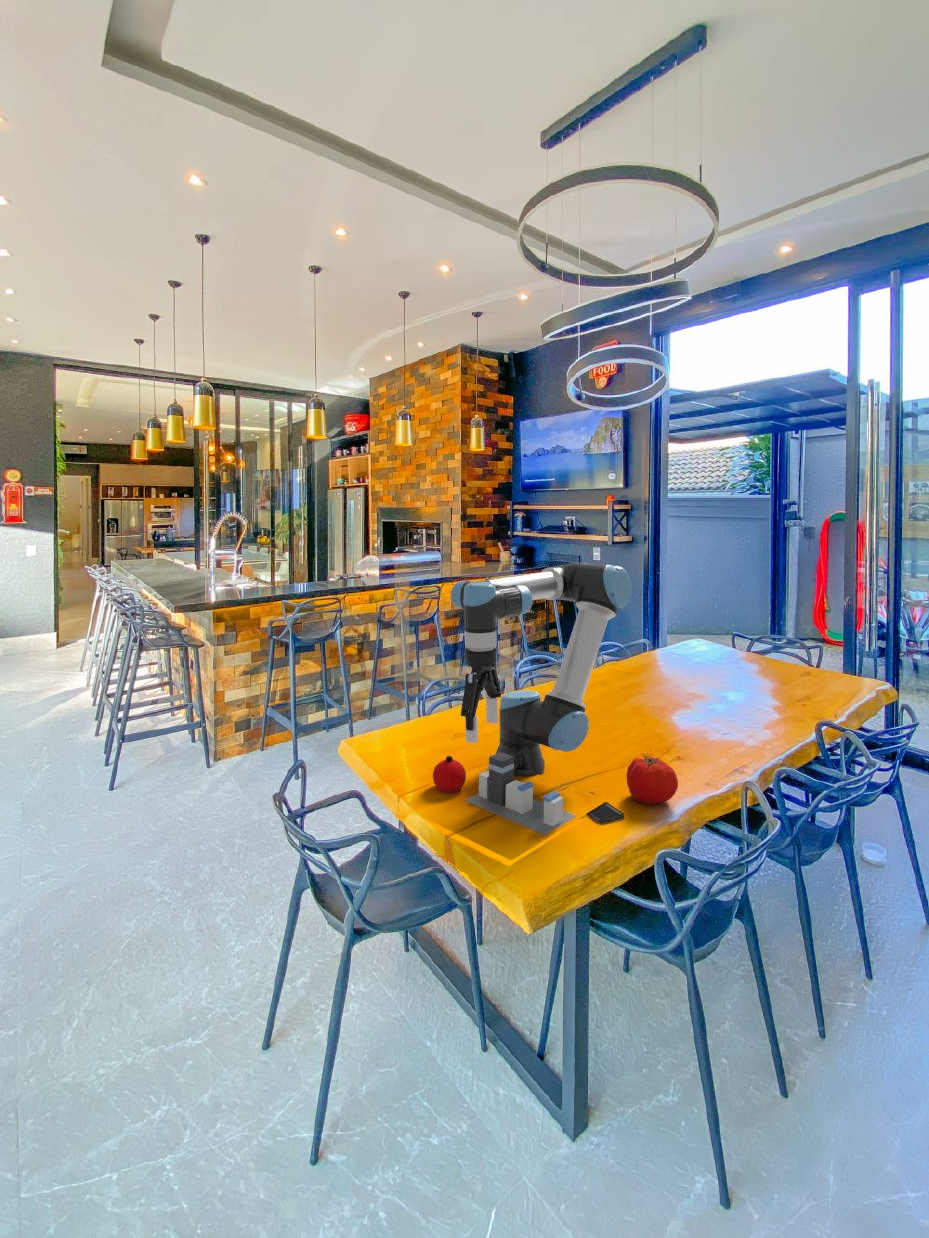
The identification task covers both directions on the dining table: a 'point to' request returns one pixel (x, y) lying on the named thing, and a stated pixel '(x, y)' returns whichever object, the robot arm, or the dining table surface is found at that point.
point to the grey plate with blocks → (524, 806)
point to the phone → (605, 813)
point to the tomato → (651, 780)
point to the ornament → (449, 775)
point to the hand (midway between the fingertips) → (482, 732)
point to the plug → (500, 776)
